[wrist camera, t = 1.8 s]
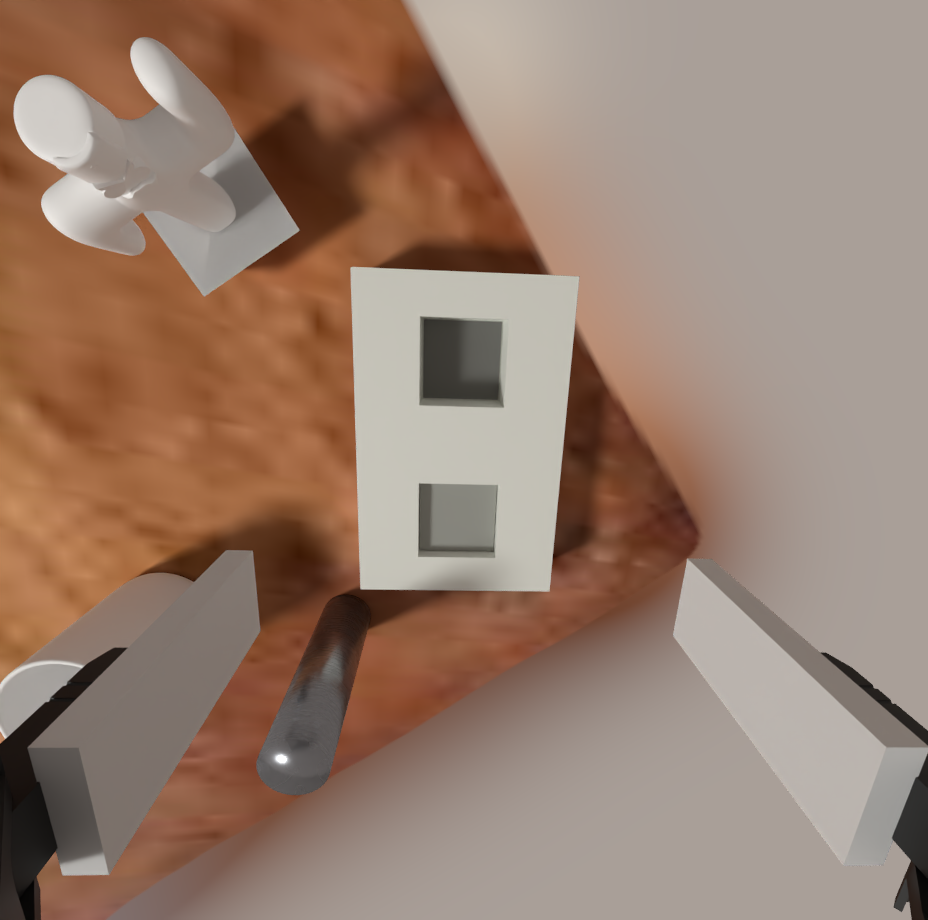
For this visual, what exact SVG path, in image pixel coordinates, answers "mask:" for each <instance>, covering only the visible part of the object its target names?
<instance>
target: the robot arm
mask: <svg viewBox="0 0 928 920" xmlns="http://www.w3.org/2000/svg"><path fill="white" fill-rule="evenodd" d="M259 633H260V621H259V611H258V600H257V590H256V579H255V568H254V558H253V551H249V550H226V551H225V552H224V553H223V554H222V555H221V556H220V557H219V558H218V559H217V560H216V561H215V562H214V563H213V564H212V565H211V566H210V567H209V568H208V569H207V570H206V571H205V572H204V573H203V574H202V575H201V576H200V577H199V578H198V579H197V580H196V581H195V582H194V583H193V584H192V585H191V586H190V587H189V588H188V589H187V590H186V591H185V592H184V593H183V594H182V595H181V596H180V597H179V598H178V599H177V600H176V601H175V602H174V603H173V604H172V605H171V606H170V607H168V608H167V609H166V610H165V611H164V612H163V613H162V614H161V615H160V616H159V617H158V618H157V619H156V620H155V621H154V622H153V623H152V624H151V625H150V626H149V627H148V628H147V629H146V630H145V631H144V632H143V633H142V634H141V635H140V636H139V637H138V638H137V639H136V640H135V641H134V642H133V643H132V644H131V645H130V646H129V647H128V648H116V647H114V648H112V649H111V650H109V651H107V652H105V653H104V654H102V655H100V656H99V657H97V658H95V659H94V660H92V661H90V662H89V663H87V664H86V665H85V666H84V667H83V668H82V669H81V670H80V671H78V672H77V673H76V674H75V675H74V676H73V677H72V678H71V679H70V680H69V681H68V682H67V685H66V686H62V687H61V688H60V689H59V690H58V691H57V692H56V693H55V694H54V695H53V696H51V697H50V700H49V702H45V703H44V704H43V705H42V706H41V707H40V708H38V709H37V710H36V711H35V712H34V713H33V714H32V715H31V716H30V717H29V718H28V719H27V720H26V721H24V722H23V723H22V724H21V725H20V726H19V727H18V728H17V729H16V730H15V731H14V732H13V733H11V734H10V735H9V736H8V737H7V738H6V739H5V740H4V741H3V742H2V743H1V744H0V920H41V906H40V887H39V884H38V881H37V877H36V876H37V875H38V873H39V872H40V871H41V869H42V868H43V867H44V865H45V864H46V863H47V861H48V860H49V859H50V857H51V856H52V855H53V853H54V852H55V851H56V853H57V857H58V860H59V864H60V867H61V871H62V875H109V874H110V872H111V871H112V869H113V867H114V866H115V864H116V863H117V861H118V859H119V858H120V856H121V855H122V853H123V851H124V850H125V848H126V847H127V845H128V843H129V842H130V840H131V839H132V837H133V835H134V834H135V832H136V830H137V829H138V827H139V826H140V824H141V822H142V821H143V819H144V818H145V816H146V814H147V813H148V811H149V810H150V808H151V806H152V805H153V803H154V801H155V800H156V798H157V797H158V795H159V793H160V792H161V790H162V789H163V787H164V785H165V784H166V782H167V781H168V779H169V777H170V776H171V774H172V773H173V771H174V769H175V768H176V766H177V764H178V763H179V761H180V760H181V758H182V756H183V755H184V753H185V752H186V750H187V748H188V747H189V745H190V744H191V742H192V740H193V739H194V737H195V736H196V734H197V732H198V731H199V729H200V727H201V726H202V724H203V723H204V721H205V719H206V718H207V716H208V715H209V713H210V711H211V710H212V708H213V707H214V705H215V703H216V702H217V700H218V698H219V697H220V695H221V694H222V692H223V690H224V689H225V687H226V686H227V684H228V682H229V681H230V679H231V678H232V676H233V674H234V673H235V671H236V670H237V668H238V666H239V665H240V663H241V661H242V660H243V658H244V657H245V655H246V653H247V652H248V650H249V649H250V647H251V645H252V644H253V642H254V641H255V639H256V637H257V636H258V634H259ZM673 636H674V638H675V639H676V640H677V642H678V643H679V644H680V645H681V647H682V648H683V650H684V651H685V653H686V654H687V655H688V657H689V658H690V659H691V661H692V662H693V663H694V665H695V666H696V667H697V669H698V670H699V671H700V673H701V674H702V675H703V677H704V678H705V680H706V681H707V682H708V683H709V685H710V686H711V688H712V689H713V690H714V692H715V693H716V694H717V696H718V697H719V698H720V700H721V701H722V702H723V704H724V705H725V707H726V708H727V709H728V710H729V712H730V713H731V715H732V716H733V717H734V719H735V720H736V721H737V723H738V724H739V725H740V727H741V728H742V729H743V731H744V732H745V733H746V735H747V736H748V738H749V739H750V740H751V742H752V743H753V744H754V745H755V747H756V748H757V750H758V751H759V752H760V754H761V755H762V756H763V758H764V759H765V761H766V762H767V763H768V765H769V766H770V767H771V769H772V770H773V771H774V773H775V774H776V775H777V777H778V778H779V779H780V781H781V782H782V783H783V784H784V786H785V787H786V789H787V790H788V791H789V793H790V794H791V796H792V797H793V798H794V800H795V801H796V802H797V804H798V805H799V806H800V808H801V809H802V810H803V812H804V813H805V815H806V816H807V817H808V819H809V820H810V821H811V823H812V824H813V825H814V827H815V828H816V829H817V831H818V832H819V833H820V835H821V836H822V837H823V839H824V840H825V842H826V843H827V844H828V846H829V847H830V848H831V850H832V851H833V852H834V854H835V855H836V856H837V858H838V859H839V860H840V862H841V863H842V864H843V866H867V865H869V866H870V865H883V864H884V862H885V860H886V857H887V854H888V852H889V849H890V847H891V844H892V842H893V840H894V841H895V842H896V844H897V845H898V846H899V847H900V848H901V849H902V850H903V852H905V854H906V855H907V856H908V857H909V858H910V860H911V862H910V865H909V867H908V869H907V872H906V874H905V876H904V879H903V881H902V884H901V886H900V888H899V891H898V893H897V896H896V898H895V903H894V908H896V909H898V910H899V911H901V912H902V911H903V908H904V906H905V904H906V902H910V909H911V917H912V920H928V731H927V730H926V729H925V728H923V726H921V725H920V724H919V723H918V722H917V721H915V720H914V719H913V718H912V717H911V716H909V715H908V714H907V713H906V712H905V711H903V710H902V709H901V708H900V707H899V706H897V705H896V704H892V703H891V700H890V699H889V698H888V697H886V696H885V695H884V694H883V693H882V692H880V691H879V690H878V689H874V688H873V685H872V684H871V683H870V682H868V681H867V680H866V679H865V678H864V677H863V676H861V675H860V674H859V673H858V672H856V671H855V670H854V669H853V668H851V667H850V666H848V665H846V664H845V663H843V662H841V661H839V660H838V659H836V658H834V657H832V656H831V655H829V654H827V653H820V652H819V651H818V650H816V649H815V648H814V647H813V646H811V644H809V643H808V642H807V641H806V640H805V639H804V638H802V637H801V636H800V635H799V634H798V633H797V632H795V631H794V630H793V629H792V628H791V627H790V626H789V625H787V624H786V623H785V622H784V621H783V620H782V619H780V618H779V617H778V616H777V615H776V614H774V612H772V611H771V610H770V609H769V608H768V607H767V606H765V605H764V604H763V603H762V602H761V601H760V600H758V599H757V598H756V597H755V596H754V595H753V594H752V593H750V592H749V591H748V590H747V589H746V588H745V587H743V586H742V585H741V584H740V583H739V582H737V581H736V580H735V579H734V578H733V577H732V576H731V575H730V574H728V573H727V572H726V571H725V570H724V569H723V568H721V567H720V566H719V565H718V564H717V563H716V562H714V561H713V560H712V559H687V564H686V569H685V575H684V580H683V585H682V591H681V596H680V601H679V606H678V612H677V617H676V622H675V627H674V633H673Z"/></svg>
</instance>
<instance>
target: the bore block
mask: <svg viewBox="0 0 928 920" xmlns="http://www.w3.org/2000/svg"><path fill="white" fill-rule="evenodd" d="M578 287H579V276H557V275H535V274H510V273H486V272H462V271H438V270H413V269H389V268H365V267H351V296H352V329H353V361H354V394H355V427H356V459H357V492H358V525H359V557H360V589H373V590H468V591H549V590H550V579H551V569H552V558H553V548H554V538H555V527H556V517H557V506H558V496H559V485H560V475H561V465H562V454H563V444H564V433H565V423H566V412H567V402H568V391H569V381H570V371H571V360H572V350H573V339H574V329H575V318H576V308H577V298H578Z"/></svg>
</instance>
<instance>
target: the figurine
mask: <svg viewBox="0 0 928 920" xmlns="http://www.w3.org/2000/svg"><path fill="white" fill-rule="evenodd" d="M131 61H132V65H133V68H134V70H135V73H136V75H137V77H138V78H139V80H140V82H141V83H142V85H143V86H144V88H145V89H146V90H147V92H148V93H149V94H150V95H151V96H152V97H153V98H154V99H155V100H156V101H157V102H158V103H159V105H158V106H157V107H155V108H154V109H153V110H151V111H150V112H149V113H147V114H146V115H145V116H143V117H141V118H138V119H134V120H124V119H120V118H116V117H115V116H114V115H113V114H112V113H111V112H110V111H109V110H108V109H107V108H106V107H104V106H103V105H102V104H100V103H99V102H97V101H96V100H95V99H93V98H92V97H91V96H89V95H88V94H87V93H85V92H84V91H82V90H81V89H80V88H78V87H77V86H76V85H74V84H73V83H71V82H70V81H68V80H66V79H64V78H62V77H58V76H54V75H41V76H37V77H34V78H32V79H31V80H29V81H27V82H26V83H25V84H24V85H23V86H22V88H21V89H20V90H19V92H18V94H17V96H16V99H15V103H14V121H15V125H16V129H17V131H18V133H19V136H20V137H21V139H22V141H23V142H24V143H25V145H26V146H27V147H28V148H29V149H30V150H31V151H32V152H33V153H34V154H35V155H37V156H38V157H40V158H42V159H44V160H46V161H48V162H50V163H52V164H53V165H55V166H57V168H58V169H60V170H62V171H64V172H66V173H68V174H67V175H65V176H64V177H63V178H62V179H60V180H59V181H58V182H56V183H55V184H54V185H52V186H51V187H50V188H49V189H48V190H47V191H46V192H45V193H44V195H43V197H42V200H41V206H42V210H43V212H44V214H45V216H46V218H47V219H48V221H49V222H50V223H51V224H52V225H53V226H54V227H55V228H56V229H57V230H59V231H60V232H61V233H63V234H64V235H66V236H67V237H69V238H71V239H73V240H75V241H77V242H80V243H83V244H86V245H89V246H92V247H96V248H100V249H105V250H109V251H113V252H117V253H122V254H126V255H139V254H141V253H142V252H143V251H144V249H145V238H144V236H143V234H142V232H141V230H140V228H139V227H138V226H137V224H136V223H135V222H134V221H133V220H132V219H134V218H135V217H136V216H138V215H139V214H141V213H142V212H143V213H144V215H145V216H146V217H147V219H148V220H149V221H150V223H151V224H152V226H153V227H154V228H155V230H156V231H157V233H158V234H159V235H160V237H161V238H162V239H163V241H164V242H165V244H166V245H167V246H168V248H169V249H170V250H171V252H172V253H173V255H174V256H175V257H176V259H177V260H178V261H179V263H180V264H181V266H182V267H183V268H184V270H185V271H186V272H187V274H188V275H189V277H190V278H191V279H192V281H193V282H194V284H195V285H196V286H197V288H198V289H199V290H200V292H201V293H202V295H203V296H206V295H207V294H209V293H210V292H211V291H213V290H214V289H216V288H217V287H219V286H220V285H222V284H223V283H225V282H226V281H227V280H229V279H230V278H232V277H233V276H235V275H236V274H238V273H239V272H241V271H242V270H243V269H245V268H246V267H248V266H249V265H251V264H252V263H254V262H255V261H257V260H258V259H259V258H261V257H262V256H264V255H265V254H267V253H268V252H270V251H271V250H272V249H274V248H275V247H277V246H278V245H280V244H281V243H283V242H284V241H286V240H287V239H288V238H290V237H291V236H293V235H294V234H296V233H297V232H299V231H300V230H299V228H298V227H297V225H296V224H295V222H294V220H293V219H292V217H291V216H290V214H289V213H288V211H287V209H286V208H285V206H284V205H283V203H282V202H281V200H280V199H279V197H278V195H277V194H276V192H275V191H274V189H273V188H272V186H271V185H270V183H269V181H268V180H267V178H266V177H265V175H264V174H263V172H262V171H261V169H260V167H259V166H258V164H257V163H256V161H255V160H254V158H253V157H252V155H251V153H250V152H249V150H248V149H247V147H246V146H245V144H244V143H243V141H242V139H241V138H240V136H239V135H238V133H237V132H236V130H235V129H234V127H233V124H232V122H231V119H230V117H229V116H228V114H227V112H226V110H225V109H224V107H223V106H222V105H221V103H220V102H219V101H218V99H217V98H216V97H215V96H214V95H213V94H212V92H211V91H210V90H209V89H208V88H207V87H206V86H205V85H204V84H203V83H202V82H201V81H200V80H199V79H198V78H197V77H196V76H195V75H194V74H193V73H192V72H191V71H190V70H189V69H188V68H187V67H186V66H185V65H184V64H183V63H182V62H181V61H180V60H179V59H178V58H177V57H176V56H175V55H174V54H173V53H172V52H171V51H170V50H169V49H168V48H167V47H166V46H164V45H163V44H161V43H160V42H158V41H157V40H154V39H152V38H148V37H143V38H139V39H137V40H136V41H135V42H134V43H133V45H132V47H131Z"/></svg>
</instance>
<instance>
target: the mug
mask: <svg viewBox="0 0 928 920" xmlns="http://www.w3.org/2000/svg"><path fill="white" fill-rule="evenodd" d="M193 583H194V582H193V581H191V580H189V579H187V578H185V577H182V576H179V575H175V574H170V573H150V574H145V575H141V576H139V577H136V578H134V579H132V580H130V581H128V582H126V583H125V584H123V585H122V586H121V587H119V588H118V589H117V590H115V591H114V592H113V593H111V594H110V595H109V596H107V597H106V598H105V599H104V600H102V601H101V602H100V603H99V604H97V605H96V606H95V607H93V608H92V609H91V610H90V611H88V612H87V613H86V614H85V615H83V616H82V617H81V618H79V619H78V620H77V621H76V622H74V623H73V624H72V625H71V626H69V627H68V628H67V629H65V630H64V631H63V632H62V633H60V634H59V635H58V636H57V637H55V638H54V639H53V640H51V641H50V642H49V643H48V644H46V645H45V646H44V647H43V648H41V649H40V650H39V651H37V652H36V653H35V654H34V655H32V656H31V657H30V658H29V659H27V660H26V661H25V662H23V663H22V664H21V665H20V666H18V667H17V668H16V669H15V670H13V671H12V672H11V673H9V674H8V675H7V676H6V677H5V678H4V680H3V681H2V682H1V684H0V731H1V733H2V735H3V736H4V738H5V739H6V738H7V737H8V736H9V735H10V734H11V733H13V732H14V731H15V730H16V729H17V728H18V727H19V726H20V725H21V724H22V723H23V722H24V721H26V720H27V719H28V718H29V717H30V716H31V715H32V714H33V713H34V712H35V711H36V710H37V709H38V708H40V707H41V706H42V705H43V704H44V703H45V702H49V700H50V697H51V696H53V695H54V694H55V693H56V692H57V691H58V690H59V689H60V688H61V687H62V686H66V685H67V682H68V681H69V680H70V679H71V678H72V677H73V676H74V675H75V674H76V673H77V672H78V671H80V670H81V669H82V668H83V667H84V666H85V665H86V664H87V663H89V662H90V661H92V660H94V659H95V658H97V657H99V656H100V655H102V654H104V653H105V652H107V651H109V650H111V649H112V648H114V647H116V648H128V647H129V646H130V645H131V644H132V643H133V642H134V641H135V640H136V639H137V638H138V637H139V636H140V635H141V634H142V633H143V632H144V631H145V630H146V629H147V628H148V627H149V626H150V625H151V624H152V623H153V622H154V621H155V620H156V619H157V618H158V617H159V616H160V615H161V614H162V613H163V612H164V611H165V610H166V609H167V608H168V607H170V606H171V605H172V604H173V603H174V602H175V601H176V600H177V599H178V598H179V597H180V596H181V595H182V594H183V593H184V592H185V591H186V590H187V589H188V588H189V587H190V586H191V585H192V584H193Z"/></svg>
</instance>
